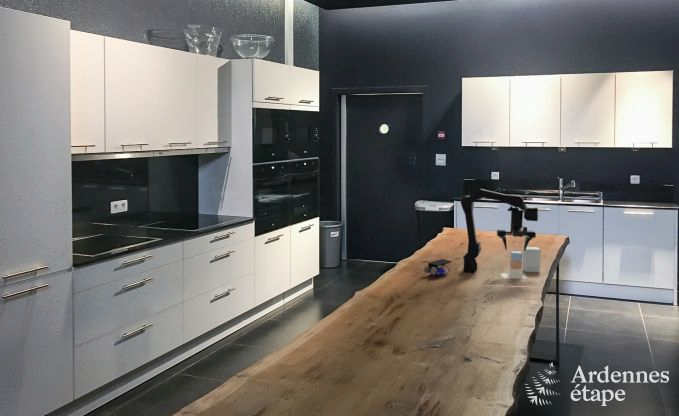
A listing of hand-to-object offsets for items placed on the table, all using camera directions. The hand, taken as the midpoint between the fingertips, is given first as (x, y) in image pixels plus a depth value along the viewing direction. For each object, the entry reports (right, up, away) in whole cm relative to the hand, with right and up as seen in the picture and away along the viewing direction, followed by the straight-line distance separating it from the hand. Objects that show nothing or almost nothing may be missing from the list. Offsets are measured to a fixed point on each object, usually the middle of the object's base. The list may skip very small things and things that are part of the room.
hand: (515, 250), depth 340 cm
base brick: (-1, -13, -3) cm, 13 cm away
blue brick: (-1, -5, -4) cm, 6 cm away
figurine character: (-40, -13, -1) cm, 42 cm away
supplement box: (+11, -12, +10) cm, 19 cm away
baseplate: (-2, -13, -4) cm, 14 cm away
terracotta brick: (-1, -9, -3) cm, 9 cm away
